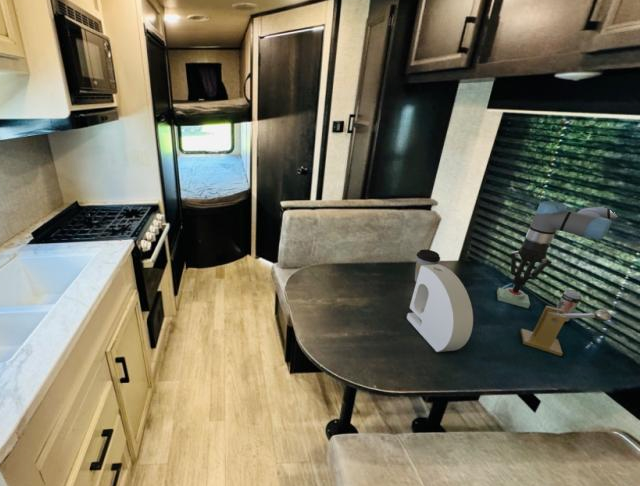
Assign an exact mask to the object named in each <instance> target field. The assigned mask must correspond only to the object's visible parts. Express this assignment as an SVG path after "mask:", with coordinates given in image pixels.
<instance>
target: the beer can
mask: <svg viewBox="0 0 640 486" xmlns="http://www.w3.org/2000/svg"><path fill="white" fill-rule="evenodd" d="M581 299H582V296H581V293H579V292H577V291H574V290H572V289H567V290H565V291H563V293H562V295H561V297H560V299H559V301H558V302H557V305H556V307H555V308H557V309H561V310H564V312H563V314H574V313H575V311H576V308H577V307H578V305H579V304H580V301H581ZM570 320H571V318H566V320H565V322H569V321H570Z"/></svg>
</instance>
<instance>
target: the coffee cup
mask: <svg viewBox="0 0 640 486" xmlns="http://www.w3.org/2000/svg"><path fill="white" fill-rule="evenodd" d="M416 257H417V259H416V263H415V273H414V282H415V283H416V282H417V278H418V275H419V271H420V267H421V265H436V264H439V263H438V262H440V261H441V256H440V254H439V253H438V252H437V251H434V250H432V249H425V248H424V249H423V248H422V249H420V250H419V251H417V253H416Z"/></svg>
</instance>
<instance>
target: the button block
mask: <svg viewBox="0 0 640 486" xmlns="http://www.w3.org/2000/svg"><path fill="white" fill-rule="evenodd" d="M510 289H513V287H505V288H503V287H498V288H497V290H496V295H497V296H496V297H497V301H499V302H503V303H507V304H510V305H514V306H518V307H521V308H525V309H529V307H530V305H531V302H530V297H529V295H528V294H526V293H525V292H524V291H522V290H521V289H519V291H520V292H521V294H520V295H517V294H513V293H511V292H510Z"/></svg>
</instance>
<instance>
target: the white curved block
mask: <svg viewBox="0 0 640 486" xmlns="http://www.w3.org/2000/svg"><path fill="white" fill-rule="evenodd" d="M409 309H410V310H411V311H412V312H408V313H407V314H406V319H407V321H408V322H409V323H410V324H411V325H412V326H413V327H414V328H415V330H416V331H417V332H418V333H419V334H420V336H422V337H423V339H424V340H425V341H426V342H427V343H428V344H429V345H430V347H432V349H433V350H434V351H435V352H436V353H441V352H452V351H458V350H460V349H462V348H463V347H464V346H465V345H466V344H467V343H468V341H469V340H470V337H471V335H472V331H473V327H474V313H473V312H474V311H473V307H472V302H471V299H470V297H469V293H468V291H467V289H466V287H465V286H464V284H463V282H462V281H461V280H460V278H459V277H458V276H457V275H456V274H455V273H454V272H453V271H452V270H450V269H449V268H447V266H444V265H442V264H439V263H437V264H436V265H421V267H420V271H419V275H418V278H417V282H415V286H414V290H413V294H412V297H411V300H410V304H409Z"/></svg>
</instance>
